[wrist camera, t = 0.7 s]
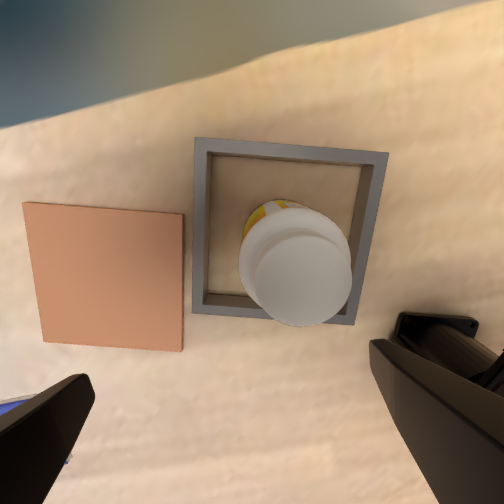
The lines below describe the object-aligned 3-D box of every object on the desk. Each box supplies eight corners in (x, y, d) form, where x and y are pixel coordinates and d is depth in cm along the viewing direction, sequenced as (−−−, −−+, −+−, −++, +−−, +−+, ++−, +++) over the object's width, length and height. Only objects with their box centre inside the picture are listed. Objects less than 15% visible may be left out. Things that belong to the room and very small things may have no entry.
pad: (183, 214, 20) (182, 215, 19) (182, 348, 23) (181, 352, 22) (27, 202, 20) (21, 202, 19) (48, 338, 23) (43, 342, 22)
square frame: (375, 155, 18) (389, 152, 16) (345, 312, 22) (354, 325, 20) (201, 141, 18) (194, 136, 16) (197, 301, 22) (191, 313, 20)
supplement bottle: (254, 275, 21) (253, 357, 11) (235, 209, 20) (215, 236, 10) (321, 258, 20) (382, 328, 11) (306, 189, 19) (362, 196, 9)
